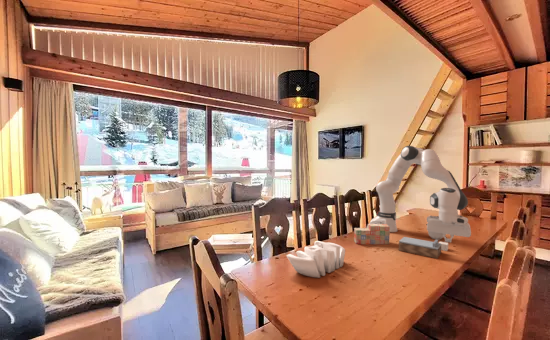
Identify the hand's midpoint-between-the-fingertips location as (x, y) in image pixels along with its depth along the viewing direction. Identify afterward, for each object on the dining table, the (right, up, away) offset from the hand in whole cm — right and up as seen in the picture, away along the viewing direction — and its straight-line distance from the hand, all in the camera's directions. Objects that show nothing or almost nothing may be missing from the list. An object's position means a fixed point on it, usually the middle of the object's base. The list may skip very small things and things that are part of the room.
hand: (448, 241), depth 140 cm
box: (-11, -9, +9) cm, 17 cm away
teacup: (+16, -8, +33) cm, 37 cm away
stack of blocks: (-32, -9, +27) cm, 43 cm away
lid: (-11, -4, +9) cm, 15 cm away
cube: (+6, -9, +12) cm, 16 cm away
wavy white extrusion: (-74, -11, -10) cm, 75 cm away
